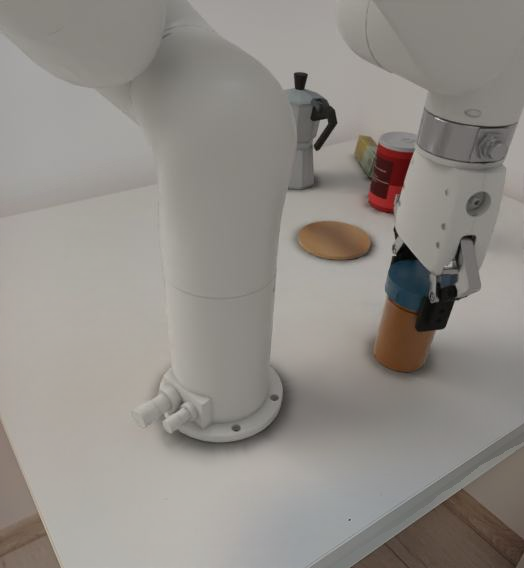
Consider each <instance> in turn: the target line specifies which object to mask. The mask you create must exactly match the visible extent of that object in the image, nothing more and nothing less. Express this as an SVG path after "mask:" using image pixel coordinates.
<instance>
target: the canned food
mask: <svg viewBox="0 0 524 568" xmlns="http://www.w3.org/2000/svg"><path fill="white" fill-rule="evenodd" d="M417 135H418V134H416V133H413V132H407V131H390V132H385V133H382V134H381V135H380V136H379V139H378V143H377V146H378V147H377V152H376V158H375V163H374V169H373V174H372V178H370V179H371V180H370V185H369V191H368V196H367V197H368V204H369V205H370V207H372V208H373V209H375V210H377V211H380V212H383V213H388V214H389V213H390V214H394V205H395V204H396V203H398V202H399V199H400V195H401V191H402V188H403V184H404V181H405V178H406V174H407V171H408V168H409V165H410V162H411V159H412V156H413V153H414V151H415V143H416V139H417Z"/></svg>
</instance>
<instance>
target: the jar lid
mask: <svg viewBox="0 0 524 568" xmlns="http://www.w3.org/2000/svg"><path fill="white" fill-rule="evenodd" d="M449 285H450V275H442V276H441V288H443V287H446V286H449ZM384 291H385V293H386V294H385V295H386V296H387V295H388V297H389V298H390V299H391V300H392V301H394V302H395V303H397V304H398V305H400V306H402V307H405V308H407V309H410V310H414V311H419V310H420V307H421V304H422V301H423V298H424V297H426V296H429V270H428V269H427V268H426V267H425V266H424V265H423V264H422V263H421V262H420V261H419V260H403V261H399V262H396V263H394V264H393V265H392V266H391V267H390V266H389V268H388V271H387V275H386V280H385V283H384Z"/></svg>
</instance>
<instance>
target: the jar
mask: <svg viewBox="0 0 524 568" xmlns="http://www.w3.org/2000/svg"><path fill="white" fill-rule="evenodd" d="M418 314H419V311H414V310H410V309H407V308H405V307H402V306H400V305H398V304H397V303H395V302H394V301H392V300H391V299H390V298H389V297H388V295H387V294H386V297H385V301H384V304H383V308H382V312H381V316H380V320H379V324H378V327H377V331H376V336H375V340H374V344H373V348H372V351H373V356H374V358H375V359H376V360H377V361H378V362H379V364H381V365H382V366H384V367H385V368H387V369H390V370H392V371H396V372H401V373H411V372H415V371H418V370H420V369H421V368H422V367H424V365H425V364H426V361H427V358H428V355H429V352H430V349H431V347H432V344H433V340H434V338H435V336H436V332H437V330H433V331H424V332H418V331H417V330H416V329H415V324H416V320H417V317H418Z"/></svg>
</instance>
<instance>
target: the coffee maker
mask: <svg viewBox="0 0 524 568" xmlns="http://www.w3.org/2000/svg"><path fill="white" fill-rule="evenodd" d="M308 76H309V74H308V73H307V72H304V71H303V72H302V71H295V72H294V73H293V81H294V82H293V83H294V87H292V88H287V89H283V90H284V92H285V94H286V96H287V97H288V99H289V102H290V105H291V107H292V110H293V114H294V118H295V123H296V130H297V149H296V158H295V163H294V168H293V172H292V176H291V180H290V183H289V187H288V190H304V189H307V188H309V187H313V186H315V171H314V150H315V152H318V151H320V150H321V149H322V147H323V146H324V144H325V143H326V141H327V140H328V138H329V137H330V135H331V134H332V132H333V131H334V129H335V128H336V126H337V125H338V118H337V114H336V109H335V108H334V107H333V106H332V105H330V103H329V101H328V99H326V98H325V97H324V96H323V95H322V94H319V93H318V92H316V91H313V90H310V89H307V88H306V84H307V80H308ZM324 120H326V121H327V125H326V126H325V127H324V128H323V131H322V132H321V134H320V135H319V137H318V138H317V140H316V141H315V143H314V139H315V138H316V137H317V136H318V135H317V134H318V131H319V126H320V122H321V121H324ZM313 143H314V144H313Z"/></svg>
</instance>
